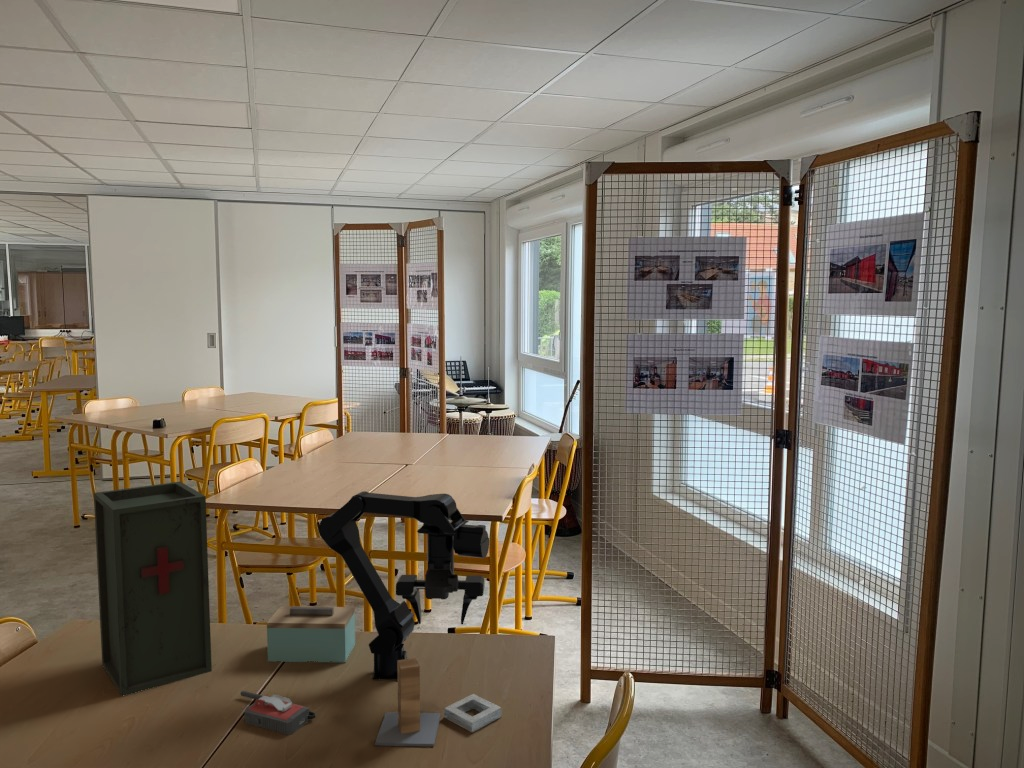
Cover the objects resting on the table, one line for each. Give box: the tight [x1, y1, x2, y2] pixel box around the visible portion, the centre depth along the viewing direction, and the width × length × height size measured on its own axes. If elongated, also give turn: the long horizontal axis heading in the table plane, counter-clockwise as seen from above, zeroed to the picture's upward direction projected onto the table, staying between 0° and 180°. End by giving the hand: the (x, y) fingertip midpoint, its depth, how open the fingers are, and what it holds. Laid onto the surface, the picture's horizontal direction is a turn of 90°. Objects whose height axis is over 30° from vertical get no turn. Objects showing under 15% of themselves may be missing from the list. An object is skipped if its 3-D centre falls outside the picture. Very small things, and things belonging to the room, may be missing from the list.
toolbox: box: [266, 605, 356, 663], centre depth 183 cm, size 18×10×11 cm, turn 89°
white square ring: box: [443, 693, 502, 734], centre depth 154 cm, size 8×8×2 cm
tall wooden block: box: [397, 657, 421, 734], centre depth 149 cm, size 4×4×13 cm
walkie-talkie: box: [240, 690, 316, 735], centre depth 155 cm, size 9×4×20 cm
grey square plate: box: [374, 711, 441, 747], centre depth 150 cm, size 11×11×1 cm
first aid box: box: [93, 481, 213, 697], centre depth 173 cm, size 18×18×40 cm
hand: (441, 623), depth 168 cm, fingers open, 9 cm apart
